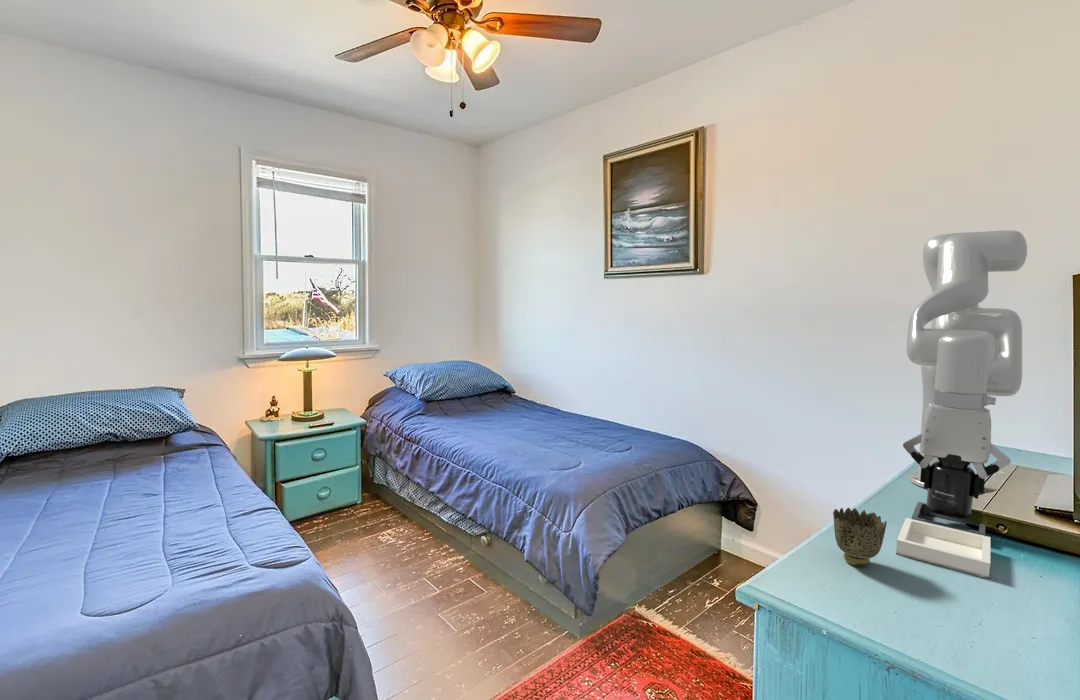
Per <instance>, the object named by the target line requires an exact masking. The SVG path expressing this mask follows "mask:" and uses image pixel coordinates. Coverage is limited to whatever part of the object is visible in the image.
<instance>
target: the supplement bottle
mask: <svg viewBox="0 0 1080 700" xmlns="http://www.w3.org/2000/svg"><path fill="white" fill-rule="evenodd" d="M938 460H939V461H937V462H934V463H933V464H932V465H931V467H930V477H929V488H928V489H927V494H926V495H927V496H926V503H927V507H928V509H929V510H931V511H932V512H934V513H936V514H939V515H942V516H945V517H949V518H956V519H964V518H968V517H969V516H970V515H971V513H972V511H973V510H972V508H973V501H974V497H973V494H974V483H975V476H976V475H975V474H976V472H975V469H973V468H972V467H971V465H970V463H968V462H964V461H961V456H957V455H951V454H948V455H947V457H945V458H938ZM968 465H970V467H969V466H968Z"/></svg>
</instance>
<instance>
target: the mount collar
mask: <svg viewBox="0 0 1080 700" xmlns="http://www.w3.org/2000/svg"><path fill="white" fill-rule="evenodd" d="M922 514H924V515H927V516H928V515H929V516H933V517H937V518H942V519H946V520H951V521H955V522H960V523H964V524H969V525H972V526H973V525H974V526H978V530H973V529H970V528H964V527H960V526H957V525H951V524H947V523H943V522H938V521H934V520H930V519H925V518H921V515H922ZM911 519H913V520H918V521H922V522H926V523H931V524H935V525H939V526H944V527H948V528H953V529H957V530H961V531H966V532H970V533H974V534H979V535H983V536H986V524H985V525H984V524H981V523H980V525H979V523H976V522H973V521H970V520H968V519H966V518H964V519H956V518H949V517H945V516H942V515H939V514H936V513H934V512H932V511H931V510H929V509H928V507H927V502H922V501H917V502H916V506H915V507H914V511H913V513H912V516H911Z"/></svg>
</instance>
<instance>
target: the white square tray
mask: <svg viewBox="0 0 1080 700" xmlns="http://www.w3.org/2000/svg"><path fill="white" fill-rule="evenodd" d="M991 540H992V539H991V536H987V535H985V536H983V535H979V534H974V533H970V532H966V531H961V530H957V529H953V528H948V527H944V526H939V525H935V524H931V523H926V522H922V521H918V520H913V519H912V518H909V517H905V519H904V522H903V524H902V527H901V529H900V532H899V534H898V537H897V539H896V548H895V549H896V550H895V555H898V556H902V557H905V558H910V559H912V560H917V561H920V562H924V563H929V564H931V565H936V566H940V567H943V568H945V569H946V568H947V569H949V570H954V571H957V572H960V573H966V574H969V575H973V576H977V577H980V578H983V579H987V580H989V579H990V571H991V570H990V569H991Z"/></svg>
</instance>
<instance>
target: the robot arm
mask: <svg viewBox="0 0 1080 700" xmlns="http://www.w3.org/2000/svg"><path fill="white" fill-rule="evenodd" d="M924 243H925V244H924V245H923V249H922V260H923V261H922V262H923V269H924V272H925V275H926V278H927V281H928V283H929V284H930V287H931V291H932V293H931V294H928V295H927V296H926V297H925V298H924V299H923V300H921V301H920V303H918V304H917V305H916V307H915V308H914V309H913V311H912V313H911V315H910V317H909V320H908V326H907V327H908V328H907V335H906V336H907V337H906V354H907V355H906V356H907V358H908V359H909V361H910V362H912V363H914V364H915V365H919V366H920V371H921V372H920V373H921V381H922V412H921V413H922V414H921V427H920V428H921V429H920V433H919V434H917V435H916V436H914V437H912V438H910V439H908V440H905V441H904V442H903V444H902V447H903V448H904V450H906V452H907V453H908V454H909V455H910V456H911V458H912V459H913V460H914V461H915V462H916V463H917V464H918V465H917V471H915V472H911V473H910V474H909V476H908V479H909V481H910V482H911V483H913V484H915V485H916V486H918V487H921V488H923V489H924V490H925V489H926V490H928V488H929V477H930V467H931V465H932V464H933V463H934V462H937V461H939V460H938V458H945V457H947V455H948V454H951V455H957V456H961V461H964V462H968V463H970V465H968V466H969V467H970V468H971V464H972V466H973V467H974V470H975V471H976V473H975V475H976V476H975V483H974V494H973V499H976V500H979V495H980V494H982V495H984V493H985V492H984V491H985V481H986V479H987V478H988V477H990V476H992V475H993V474H996V473H998V472H999V471H1000V470H1001V469H1004V468H1006V467H1007V466H1009V465H1010V464H1011V463H1012V461H1011V458H1010V457H1009V456H1007V455H1006V454H1005V453H1004V452H1003V451H1002V450H1000V449H999V448H998V447H997V446H996V445H994V444H993V443H992V419H991V411H990V409H989V408H986V407H988V406H990V405H994V406H996V401H997V397H1011V396H1015V395H1016V394H1017V393H1018V392H1019V391H1020V389H1021V387H1022V380H1023V323H1022V320H1021V317H1020V316H1019V314H1018V313H1017V312H1016V311H1014V310H1012V309H1008V308H999V307H997V308H995V307H994V308H993V307H992V308H991V307H990V308H988V307H984V308H983V307H979V304H980V303H982V302H983V301H984V300H985V299H986V298H987V297H988V294H989V273H992V272H993V273H997V272H999V273H1000V272H1017V271H1019V270H1020V269H1022V267H1023V266H1024V265H1025V263H1026V259H1027V256H1028V244H1027V240H1026V238H1025V236H1024V234H1023V233H1022V232H1020V231H1018V230H1014V229H1013V230H1012V229H1011V230H1009V229H1008V230H990V231H989V230H988V231H968V232H952V233H945V234H939V235H935V236H932V237H931V238H929V239H928V240H927V241H926V242H924ZM929 322H931V328H925V326H926V325H927V324H928V323H929ZM917 445H919V449H918V450H919V451H918V450H917V449H916V448H915V446H917ZM990 455H992V456H993V457H994V458H996V459H997V460H996V461H995V462H991V463H990V464H988V465H985V464H986V463H988V461H989V459H990Z"/></svg>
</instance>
